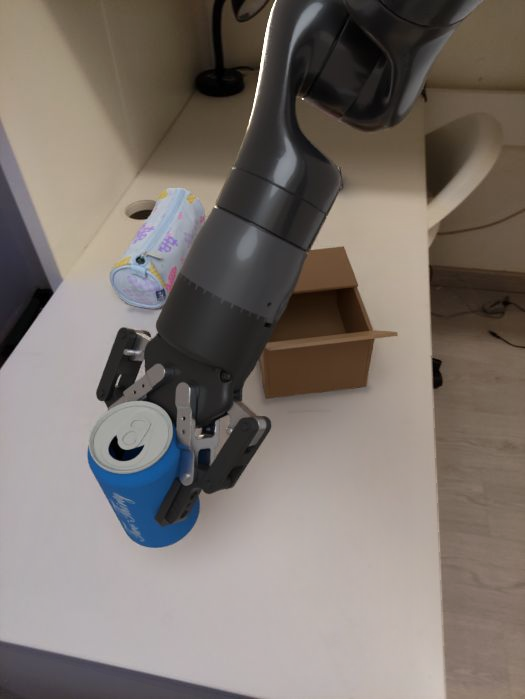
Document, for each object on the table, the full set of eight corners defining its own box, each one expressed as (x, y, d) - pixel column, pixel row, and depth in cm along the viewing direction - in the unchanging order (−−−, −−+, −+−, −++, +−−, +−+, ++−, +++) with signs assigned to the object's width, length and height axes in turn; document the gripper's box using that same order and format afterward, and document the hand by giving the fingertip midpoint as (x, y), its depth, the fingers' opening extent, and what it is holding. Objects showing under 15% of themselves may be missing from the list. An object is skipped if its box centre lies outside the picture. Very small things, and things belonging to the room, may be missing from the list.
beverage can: (108, 535, 44) (61, 459, 35) (148, 468, 48) (115, 385, 39) (178, 564, 42) (148, 492, 33) (213, 492, 46) (195, 411, 37)
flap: (375, 330, 61) (375, 333, 61) (263, 343, 60) (263, 346, 60) (397, 331, 53) (397, 335, 53) (268, 346, 52) (269, 351, 52)
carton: (366, 386, 69) (376, 330, 61) (265, 399, 68) (262, 343, 60) (338, 302, 79) (344, 245, 72) (251, 312, 79) (247, 256, 71)
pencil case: (168, 318, 78) (156, 267, 71) (113, 310, 80) (96, 259, 73) (210, 234, 92) (204, 184, 85) (163, 228, 93) (153, 179, 86)
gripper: (126, 236, 37) (37, 442, 40) (287, 334, 30) (165, 572, 33) (193, 260, 43) (112, 435, 46) (338, 344, 37) (231, 542, 40)
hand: (134, 491), depth 40 cm, fingers closed on beverage can, 6 cm apart
